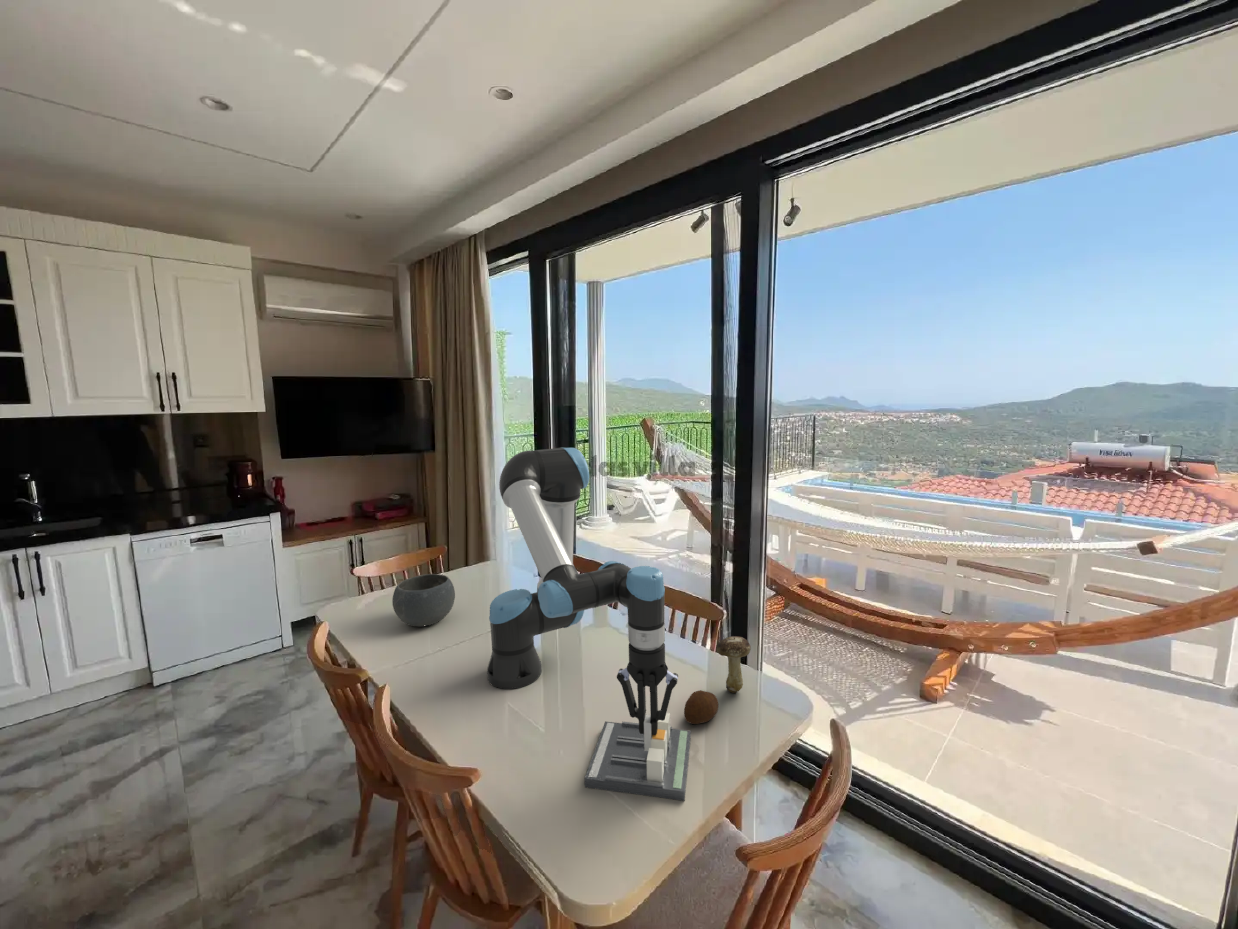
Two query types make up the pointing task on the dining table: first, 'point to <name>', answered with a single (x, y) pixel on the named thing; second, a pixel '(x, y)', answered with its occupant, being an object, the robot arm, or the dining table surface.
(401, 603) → the bowl
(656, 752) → the breaker
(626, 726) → the panel
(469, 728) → the dining table surface
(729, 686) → the mushroom
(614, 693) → the dining table surface
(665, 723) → the block
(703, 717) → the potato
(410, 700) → the dining table surface
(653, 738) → the block
